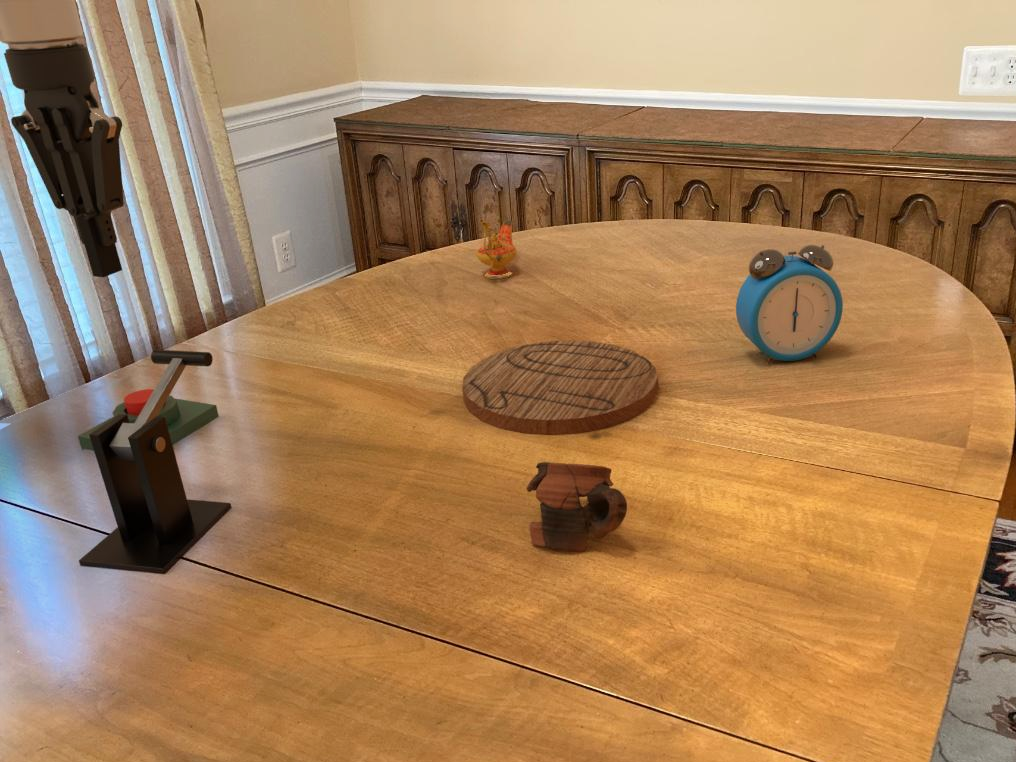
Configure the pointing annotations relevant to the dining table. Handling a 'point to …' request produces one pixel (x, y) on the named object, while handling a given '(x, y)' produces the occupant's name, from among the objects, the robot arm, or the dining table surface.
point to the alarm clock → (789, 303)
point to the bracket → (147, 502)
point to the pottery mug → (574, 505)
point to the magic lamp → (497, 249)
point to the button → (137, 401)
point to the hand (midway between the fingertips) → (107, 272)
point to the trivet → (560, 387)
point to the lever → (158, 394)
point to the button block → (168, 419)
